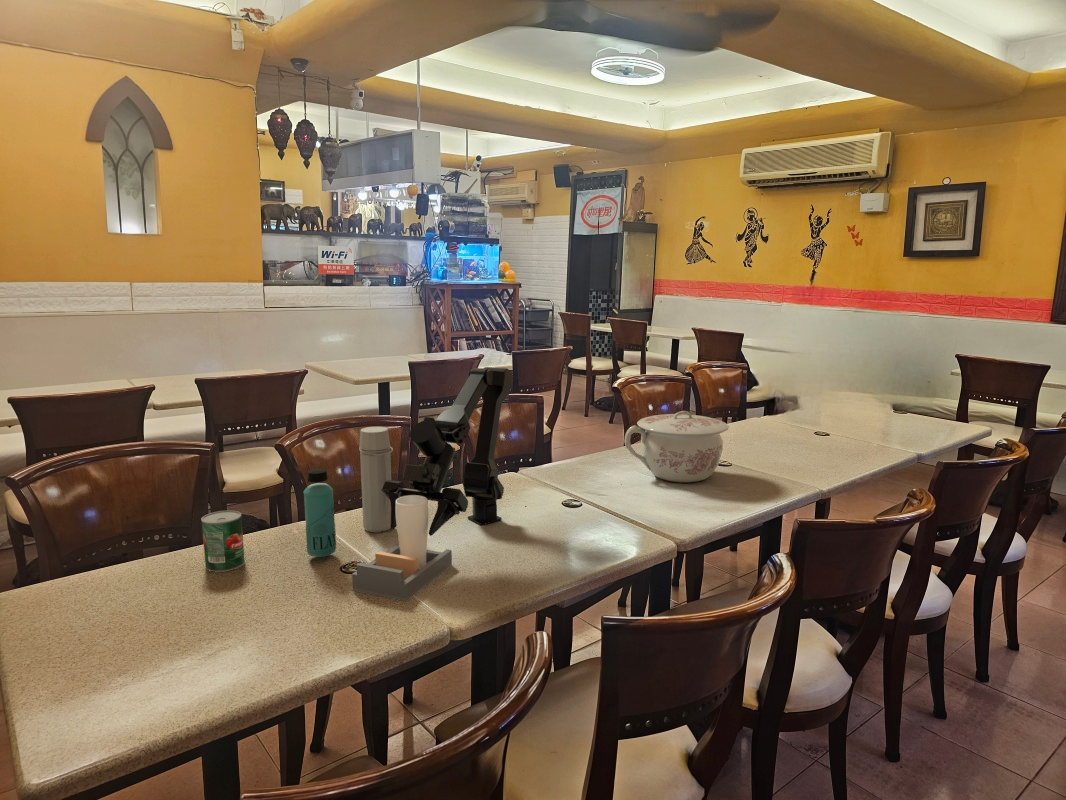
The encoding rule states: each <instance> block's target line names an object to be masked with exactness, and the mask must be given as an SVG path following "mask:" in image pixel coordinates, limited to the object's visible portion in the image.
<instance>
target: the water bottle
mask: <svg viewBox="0 0 1066 800" xmlns="http://www.w3.org/2000/svg"><path fill="white" fill-rule="evenodd" d="M389 433H390V432H389V429H388V427H385V426H368V427H363V428H361V429H360V430H359V446H358V447H359V448H358V450H359V452H360V453H359V458H360V478H361V481H360V482H361V496H362V497H361V499H362V504H361V506H362V523H363V524H362V525H363V528H364V529H365V531H367V532H369V531H370V533H382V532H381V531H383V532H386V531H388V530H390V529H391V527H390V526H391V502H390V499H389V498H388V497H387V496H386V495H385V494H384V493H383V491H382V490H381V489H382V486H383V484H384V482H385V481H387V480H392V465H391V464H392V463H391V457H392V456H391V454H392V452H393V451H394V448H393V447H392V446H391V441H390V434H389Z"/></svg>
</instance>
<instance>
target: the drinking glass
mask: <svg viewBox="0 0 1066 800" xmlns="http://www.w3.org/2000/svg"><path fill="white" fill-rule="evenodd" d="M395 513H396V525H397V526H396V532H397V538H398V540H397V541H398V544H399V549H400V555H402V556H408V557H414V558H417V561H418V570H419V569H420V568H422V567H423V566H425V565H426V553H427V550H428V547H427V546H428V535H429V500H428V499H427V498H426V497H424V496H420V495H408V496H403V497H400V498H398V499H397V500H396V504H395Z"/></svg>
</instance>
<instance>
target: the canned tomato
mask: <svg viewBox="0 0 1066 800" xmlns="http://www.w3.org/2000/svg"><path fill="white" fill-rule="evenodd" d="M200 520H201V530H202V531H201V533H202V540H203V552H204V553H203V554H204V563H205V567H206V568H205V567H204V568H205V570H206V569H207V570H206V571H208V570H210V571H209V572H211V571H215V572H214V573H224V572H223V571H226V572H230V571H229V570H231V571H234V570H237V569H239V568H242V567H243V566H244V565H245V563H246V559H245V548H244V536H243V535H244V534H243V532H244V531H243V522H242V521H243V520H242V513H241V512H240V511H237V510H218V511H214V512H210V513H208V514H205V515H203V516H202V517H201V518H200ZM242 565H243V566H242ZM233 569H234V570H233Z"/></svg>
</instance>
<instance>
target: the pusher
mask: <svg viewBox="0 0 1066 800" xmlns="http://www.w3.org/2000/svg"><path fill="white" fill-rule="evenodd" d="M385 552H386V551H385ZM385 552H384V551H377V552H375V555H374V556H375V557H374V558H375V559H376V566H381V567H387V568H392V569H398V570H403V571H404V580H406V579H407V578H408V577H410V576H411V575H412V574H414V573H415V572H416V571H418V561H417V558H414V557H408V556H402V555H396V554H391V553H385Z"/></svg>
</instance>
